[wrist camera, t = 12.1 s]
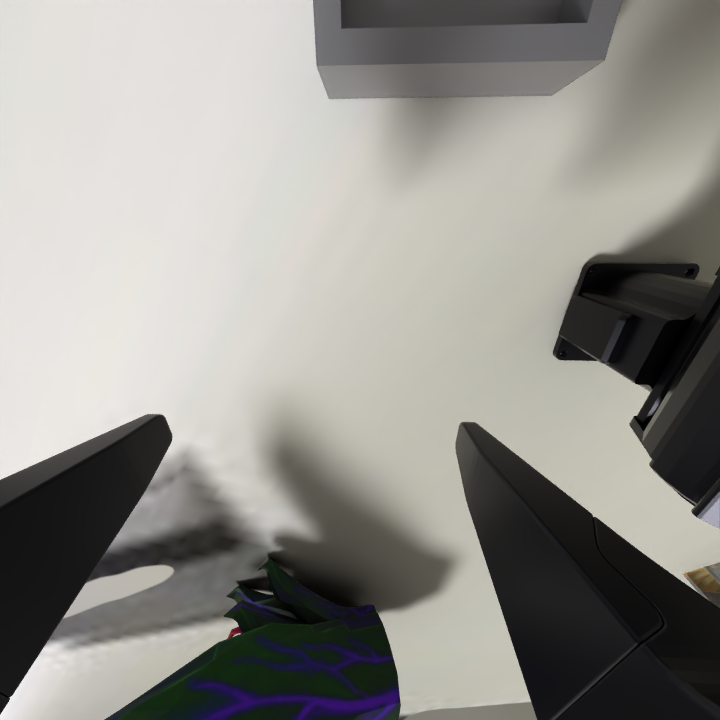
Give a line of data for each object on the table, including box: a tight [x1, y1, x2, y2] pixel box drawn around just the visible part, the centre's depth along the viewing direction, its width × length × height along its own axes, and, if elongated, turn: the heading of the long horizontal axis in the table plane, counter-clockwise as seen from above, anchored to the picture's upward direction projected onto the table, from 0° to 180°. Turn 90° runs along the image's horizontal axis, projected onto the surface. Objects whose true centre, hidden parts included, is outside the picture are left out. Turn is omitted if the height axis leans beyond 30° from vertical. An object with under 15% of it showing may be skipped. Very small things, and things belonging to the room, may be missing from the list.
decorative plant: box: [105, 559, 401, 720], centre depth 29 cm, size 21×26×30 cm
